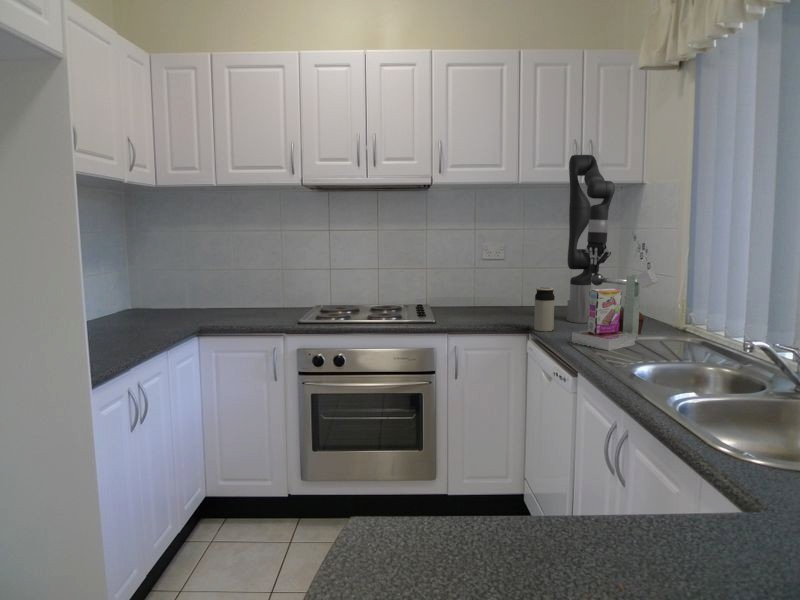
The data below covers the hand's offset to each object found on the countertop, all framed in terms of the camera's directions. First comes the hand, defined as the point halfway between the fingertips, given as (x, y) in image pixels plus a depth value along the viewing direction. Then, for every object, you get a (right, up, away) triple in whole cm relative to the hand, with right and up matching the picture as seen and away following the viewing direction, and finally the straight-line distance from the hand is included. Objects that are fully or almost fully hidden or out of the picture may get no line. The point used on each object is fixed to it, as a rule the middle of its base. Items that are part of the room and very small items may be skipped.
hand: (594, 273), depth 229 cm
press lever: (+9, -9, -12) cm, 17 cm away
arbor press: (+1, -27, -16) cm, 31 cm away
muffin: (+14, -25, +1) cm, 29 cm away
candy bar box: (-4, -23, -20) cm, 31 cm away
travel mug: (-19, -24, +8) cm, 31 cm away
